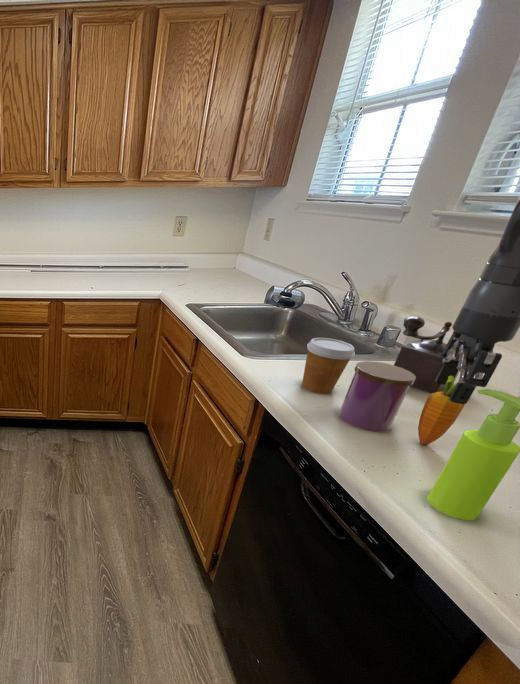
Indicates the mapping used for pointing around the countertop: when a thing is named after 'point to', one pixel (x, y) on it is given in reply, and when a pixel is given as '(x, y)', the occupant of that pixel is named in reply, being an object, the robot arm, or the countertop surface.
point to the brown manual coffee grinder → (423, 355)
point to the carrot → (438, 414)
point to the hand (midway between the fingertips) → (449, 392)
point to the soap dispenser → (478, 462)
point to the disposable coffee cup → (325, 364)
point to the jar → (375, 395)
